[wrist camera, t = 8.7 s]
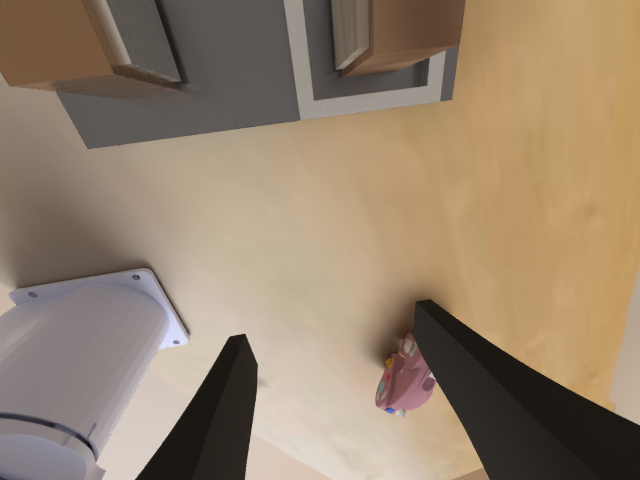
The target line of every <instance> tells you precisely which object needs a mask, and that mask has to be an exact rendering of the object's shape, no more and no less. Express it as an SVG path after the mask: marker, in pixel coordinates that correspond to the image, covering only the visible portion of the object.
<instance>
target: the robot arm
mask: <svg viewBox="0 0 640 480" xmlns="http://www.w3.org/2000/svg"><path fill="white" fill-rule="evenodd" d="M136 275H138V276H139V277H137V276H136ZM9 297H10V298H11V300H12V301H13V302H14V303H15V304H16V306H15V307H13V308H12V309H10V310H9V311H7V312H6V313H5V314H3V315H2V316H0V480H102V478H103V476H104V474H105V472H106V471H105V470H104V469H102V468H100V467H99V466H98V465H97V464H96V462H97V460H98V458H99V456H100V455H101V453H102V451H103V449H104V447H105V445H106V444H107V442H108V440H109V438H110V436H111V434H112V433H113V431H114V429H115V427H116V426H117V424H118V422H119V420H120V418H121V417H122V415H123V413H124V411H125V409H126V407H127V405H128V404H129V402H130V400H131V398H132V397H133V395H134V393H135V391H136V389H137V387H138V386H139V384H140V382H141V380H142V378H143V377H144V375H145V373H146V371H147V369H148V368H149V366H150V364H151V362H152V360H153V359H154V357H155V355H156V353H157V351H158V349H163V348H168V347H174V346H179V345H184V344H187V343H188V342H189V339H190V337H189V335H188V333H187V331H186V330H185V328H184V326H183V324H182V323H181V321H180V319H179V317H178V316H177V314H176V312H175V311H174V309H173V307H172V305H171V304H170V302H169V300H168V298H167V297H166V295H165V293H164V291H163V290H162V288H161V286H160V284H159V283H158V281H157V279H156V277H155V276H154V274H153V272H152V271H151V270H149V269H147V268H139V269H133V270H127V271H121V272H115V273H109V274H103V275H97V276H91V277H85V278H79V279H73V280H67V281H61V282H55V283H49V284H43V285H37V286H31V287H25V288H19V289H15V290H13V291H12V292H10V293H9ZM413 337H414V339H415V341H416V344H417V346H418V348H419V350H420V352H421V354H422V357H423V359H424V360H425V362H426V364H427V366H428V367H429V369H430V371H431V372H432V374H433V376H434V377H435V379H436V381H437V382H438V384H439V386H440V387H441V389H442V391H443V392H444V394H445V396H446V397H447V399H448V401H449V402H450V404H451V406H452V407H453V409H454V411H455V412H456V414H457V416H458V418H459V419H460V421H461V423H462V425H463V426H464V428H465V430H466V432H467V434H468V436H469V438H470V440H471V442H472V444H473V446H474V448H475V450H476V452H477V454H478V456H479V458H480V460H481V462H482V464H483V466H484V468H485V470H486V473H487V474H488V477H489V479H490V480H640V425H638V424H636V423H634V422H632V421H630V420H627V419H625V418H623V417H621V416H619V415H617V414H615V413H613V412H611V411H609V410H607V409H605V408H603V407H601V406H600V405H598V404H596V403H594V402H592V401H590V400H588V399H586V398H584V397H582V396H580V395H578V394H576V393H575V392H573V391H571V390H569V389H567V388H565V387H563V386H562V385H560V384H558V383H556V382H555V381H553V380H551V379H549V378H548V377H546V376H544V375H542V374H541V373H539V372H537V371H535V370H534V369H532V368H530V367H529V366H527V365H525V364H524V363H522V362H520V361H519V360H517V359H516V358H514V357H512V356H511V355H509V354H508V353H506V352H505V351H503V350H501V349H500V348H498V347H497V346H495V345H494V344H492V343H491V342H489V341H488V340H486V339H485V338H483V337H482V336H480V335H479V334H478V333H476V332H475V331H473V330H472V329H470V328H469V327H468V326H466V325H465V324H463V323H462V322H461V321H459V320H458V319H456V318H455V317H454V316H452V315H451V314H450V313H448V312H447V311H445V310H444V309H443V308H441V307H440V306H439V305H437V304H436V303H435V302H433V301H432V300H430V299H428V300H423V301H418V302H416V307H415V316H414V326H413ZM257 371H258V364H257V362H256V359H255V357H254V354H253V352H252V349H251V347H250V344H249V342H248V339H247V337H246V334H241V335H235V336H230V337H229V338H228V340H227V342H226V344H225V345H224V347H223V349H222V351H221V352H220V354H219V356H218V358H217V359H216V361H215V363H214V365H213V366H212V368H211V370H210V371H209V373H208V375H207V376H206V378H205V380H204V381H203V383H202V384H201V386H200V388H199V389H198V391H197V393H196V394H195V396H194V397H193V399H192V401H191V402H190V403H189V405H188V406H187V408H186V410H185V411H184V412H183V414H182V416H181V417H180V419H179V420H178V422H177V423H176V425H175V426H174V427H173V429H172V431H171V432H170V433H169V435H168V436H167V437H166V439H165V440H164V442H163V443H162V445H161V446H160V447H159V449H158V450H157V451H156V453H155V454H154V455H153V457H152V458H151V459H150V461H149V462H148V463H147V465H146V466H145V467H144V469H143V470H142V471H141V473H140V474H139V475H138V477H137V478H136V479H135V480H245V473H246V463H247V456H248V449H249V443H250V436H251V429H252V422H253V415H254V408H255V401H256V393H257Z"/></svg>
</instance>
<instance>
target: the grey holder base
mask: <svg viewBox="0 0 640 480" xmlns="http://www.w3.org/2000/svg"><path fill="white" fill-rule="evenodd" d="M458 50H459V45H457V46H455V47H452V48H450V49H448V50H445V51H443V52H441V53H438V54H436V55H434V56H431V57H429V58H426V59H424V60H422V61H419V62H417V63H415V64H412V65H410V66H408V67H405V68H403V69H400V70H398V71H392V72H383V73H375V74H367V75H359V76H351V77H343V78H342V69H338V70H336V65H335V50H334V35H333V21H332V6H331V0H0V72H1V73H2V75H3V77H4V78H5V80H6V81H7V83H8V84H9V86H12V87H20V88H29V89H38V90H47V91H55V92H56V93H57V95H58V97H59V98H60V100H61V102H62V104H63V106H64V107H65V109H66V111H67V113H68V114H69V116H70V118H71V120H72V122H73V123H74V125H75V127H76V129H77V130H78V132H79V134H80V136H81V138H82V139H83V141H84V143H85V145H86V146H87V148H88V149H93V148H100V147H107V146H115V145H122V144H129V143H137V142H144V141H152V140H159V139H166V138H174V137H181V136H188V135H196V134H203V133H211V132H218V131H225V130H233V129H240V128H247V127H255V126H262V125H270V124H277V123H284V122H292V121H299V120H300V121H301V120H308V119H316V118H323V117H330V116H338V115H345V114H353V113H360V112H367V111H375V110H382V109H389V108H397V107H404V106H412V105H419V104H426V103H434V102H440V101H447V100H452V95H453V87H454V80H455V72H456V65H457V57H458Z"/></svg>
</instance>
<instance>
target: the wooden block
mask: <svg viewBox="0 0 640 480" xmlns="http://www.w3.org/2000/svg"><path fill="white" fill-rule="evenodd" d="M331 6H332V21H333V35H334V50H335V65H336V70H338V69H342V78H343V77H351V76H359V75H367V74H375V73H383V72H392V71H398V70H400V69H403V68H405V67H408V66H410V65H412V64H415V63H417V62H419V61H422V60H424V59H426V58H429V57H431V56H434V55H436V54H438V53H441V52H443V51H445V50H448V49H450V48H452V47H455V46H457V45H459V44H460V37H461V29H462V22H463V14H464V7H465V0H331Z"/></svg>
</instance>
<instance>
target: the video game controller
mask: <svg viewBox="0 0 640 480" xmlns="http://www.w3.org/2000/svg"><path fill="white" fill-rule="evenodd" d="M401 354H402V355H404V356H405V359H404V358H403V357H401V356H399V355H398V354H396V353H392V354H391V356H390V357H389V358H388V359H387V360H386V368H385V371H384V374H383V376H382V379H381V381H380V383H379V385H378V388H377V392H376V400H375V401H376V406H377V407H379V408H381V409H383V410H384V411H386V412H388V413H390V414H393V415H394V414H397V415H399V416H400V417H401V418H403V417H404V416H405V412H406V411H408V410H414V409H415V408H419V407H420V406H422V405H423V404H425V403H426V402H427V401H428V400H429V398H430V397H431V395H432V391H433V388H434V386H435V384H436V382H437V381H436V379H435V377H434V376H433V374H432V372H431V371H430V369H429V367H428V366H427V364H426V362H425V360H424V359H423V357H422V354H421V352H420V350H419V348H418V346H417V344H416V341H415V339H414V337H413V334H411V333H408V334H407V335H406V336H405V337H404V339H403V341H402V344H401Z"/></svg>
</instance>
